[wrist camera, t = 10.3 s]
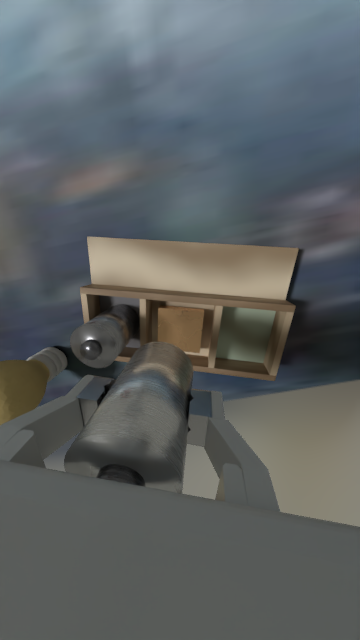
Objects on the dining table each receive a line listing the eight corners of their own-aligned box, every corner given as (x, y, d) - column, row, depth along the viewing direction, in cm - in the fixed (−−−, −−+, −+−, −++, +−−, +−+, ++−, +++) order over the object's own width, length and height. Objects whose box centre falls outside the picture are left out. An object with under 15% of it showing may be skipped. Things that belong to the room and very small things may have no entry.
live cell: (129, 338, 11) (36, 447, 5) (195, 345, 11) (184, 473, 5) (132, 390, 12) (62, 525, 6) (190, 398, 12) (176, 550, 6)
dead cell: (105, 301, 20) (62, 324, 14) (141, 307, 20) (112, 333, 14) (106, 334, 22) (67, 367, 15) (139, 339, 21) (113, 376, 15)
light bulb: (43, 327, 24) (-60, 372, 15) (85, 352, 25) (12, 412, 15) (31, 361, 26) (-66, 419, 17) (70, 384, 27) (-3, 453, 17)
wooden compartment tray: (93, 237, 19) (72, 234, 16) (292, 248, 17) (312, 247, 14) (103, 346, 24) (88, 360, 21) (263, 366, 22) (273, 385, 19)
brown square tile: (160, 305, 19) (158, 307, 18) (204, 309, 19) (204, 312, 18) (159, 344, 21) (157, 348, 20) (199, 348, 20) (199, 353, 20)
